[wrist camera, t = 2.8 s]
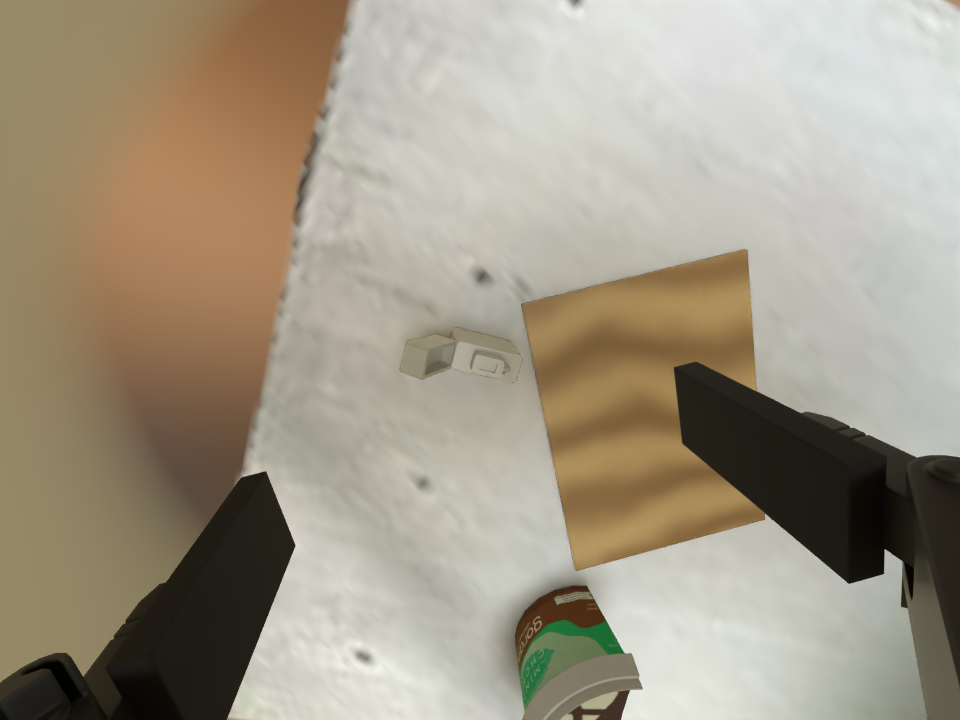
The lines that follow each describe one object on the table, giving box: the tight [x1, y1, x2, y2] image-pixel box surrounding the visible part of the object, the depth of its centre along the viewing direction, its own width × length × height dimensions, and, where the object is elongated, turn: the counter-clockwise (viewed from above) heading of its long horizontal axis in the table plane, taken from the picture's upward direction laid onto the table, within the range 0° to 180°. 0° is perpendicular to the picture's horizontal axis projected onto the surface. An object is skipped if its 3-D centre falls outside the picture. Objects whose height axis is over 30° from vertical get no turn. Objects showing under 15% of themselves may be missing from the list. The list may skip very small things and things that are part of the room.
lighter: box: [399, 327, 523, 383], centre depth 29 cm, size 7×2×8 cm, turn 75°
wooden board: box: [521, 249, 765, 571], centre depth 36 cm, size 22×16×1 cm
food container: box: [515, 586, 643, 720], centre depth 35 cm, size 12×6×10 cm, turn 169°
